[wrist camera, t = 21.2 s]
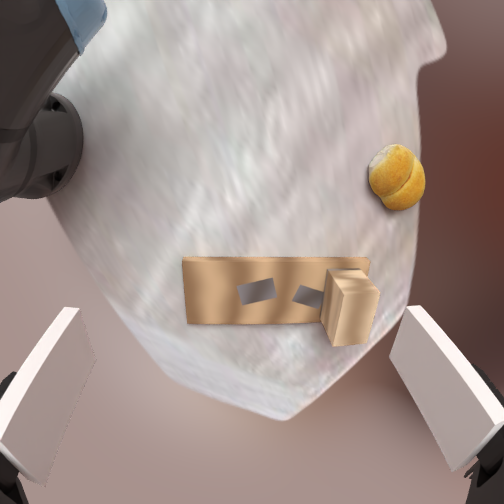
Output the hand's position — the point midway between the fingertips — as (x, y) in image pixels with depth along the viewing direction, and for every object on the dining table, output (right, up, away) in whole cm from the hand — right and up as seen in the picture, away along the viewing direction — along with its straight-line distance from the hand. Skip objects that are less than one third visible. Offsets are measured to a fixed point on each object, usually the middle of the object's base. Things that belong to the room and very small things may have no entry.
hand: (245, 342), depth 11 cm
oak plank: (+4, -2, +32) cm, 32 cm away
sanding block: (+13, -3, +31) cm, 34 cm away
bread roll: (+20, +14, +27) cm, 36 cm away
